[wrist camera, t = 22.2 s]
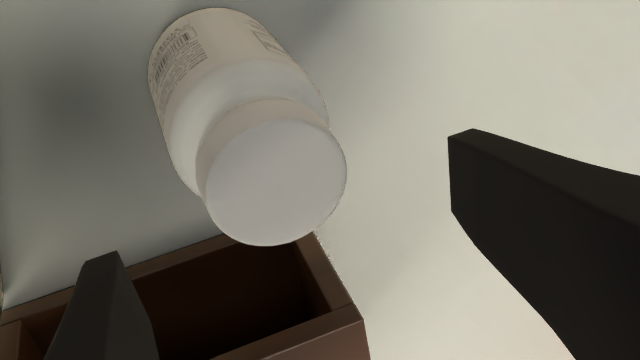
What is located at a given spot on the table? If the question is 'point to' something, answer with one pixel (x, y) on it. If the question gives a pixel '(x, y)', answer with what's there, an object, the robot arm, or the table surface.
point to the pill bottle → (245, 127)
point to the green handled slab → (1, 296)
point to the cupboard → (222, 306)
